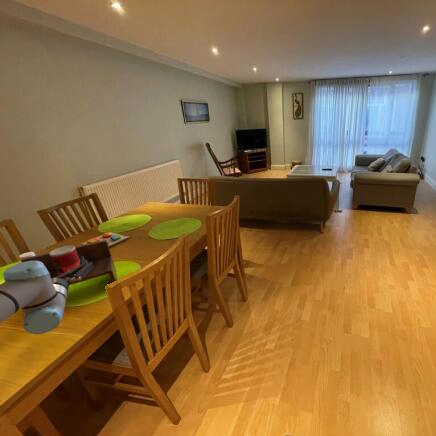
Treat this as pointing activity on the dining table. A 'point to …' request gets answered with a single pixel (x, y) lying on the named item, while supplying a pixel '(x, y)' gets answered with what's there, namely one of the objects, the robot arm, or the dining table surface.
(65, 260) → the canned food
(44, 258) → the shelf
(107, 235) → the puzzle board
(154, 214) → the dining table surface
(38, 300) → the robot arm
